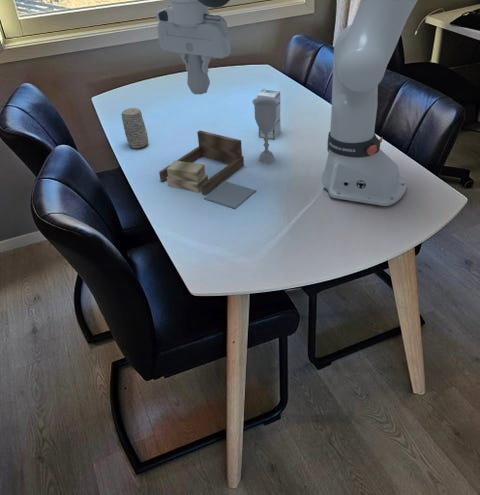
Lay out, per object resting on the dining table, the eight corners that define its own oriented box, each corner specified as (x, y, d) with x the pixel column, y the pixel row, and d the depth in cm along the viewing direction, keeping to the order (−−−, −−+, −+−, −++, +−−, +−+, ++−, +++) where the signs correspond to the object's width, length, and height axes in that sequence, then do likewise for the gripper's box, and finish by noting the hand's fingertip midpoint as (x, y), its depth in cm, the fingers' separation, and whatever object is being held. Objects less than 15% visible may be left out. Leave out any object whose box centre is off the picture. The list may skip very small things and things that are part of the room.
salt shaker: (207, 96, 124) (201, 42, 116) (186, 95, 125) (178, 43, 117) (213, 87, 128) (207, 36, 120) (192, 87, 129) (185, 36, 121)
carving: (135, 140, 161) (128, 105, 154) (153, 144, 158) (147, 108, 151) (123, 148, 157) (115, 112, 150) (141, 152, 154) (134, 116, 146)
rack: (244, 165, 143) (242, 140, 138) (205, 195, 130) (202, 168, 126) (201, 154, 150) (198, 130, 145) (160, 181, 138) (156, 155, 133)
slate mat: (255, 191, 130) (255, 190, 130) (235, 209, 124) (234, 207, 124) (225, 182, 135) (225, 181, 135) (204, 199, 129) (204, 197, 129)
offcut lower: (208, 184, 136) (207, 174, 134) (198, 193, 132) (197, 184, 130) (179, 177, 140) (177, 168, 138) (168, 186, 136) (166, 177, 134)
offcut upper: (205, 173, 135) (204, 164, 133) (198, 182, 131) (196, 172, 129) (176, 170, 138) (174, 160, 136) (168, 178, 134) (166, 168, 132)
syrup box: (281, 133, 159) (281, 89, 150) (274, 140, 155) (274, 96, 146) (265, 130, 161) (264, 87, 152) (258, 138, 157) (256, 94, 148)
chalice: (283, 157, 145) (282, 99, 134) (271, 167, 141) (270, 107, 130) (262, 152, 149) (260, 95, 138) (250, 161, 144) (247, 103, 133)
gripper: (233, 12, 112) (237, 73, 120) (167, 7, 122) (175, 63, 130) (217, 19, 108) (223, 81, 116) (150, 13, 118) (159, 70, 126)
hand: (197, 71), depth 123 cm, fingers closed on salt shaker, 3 cm apart
